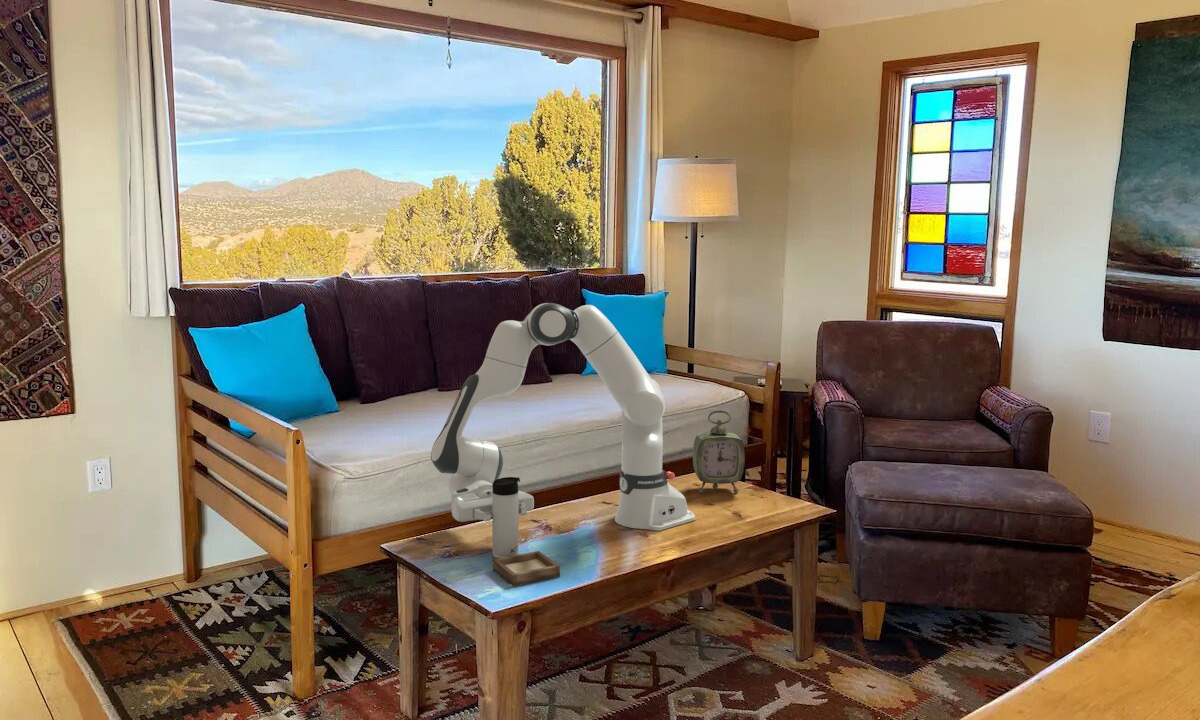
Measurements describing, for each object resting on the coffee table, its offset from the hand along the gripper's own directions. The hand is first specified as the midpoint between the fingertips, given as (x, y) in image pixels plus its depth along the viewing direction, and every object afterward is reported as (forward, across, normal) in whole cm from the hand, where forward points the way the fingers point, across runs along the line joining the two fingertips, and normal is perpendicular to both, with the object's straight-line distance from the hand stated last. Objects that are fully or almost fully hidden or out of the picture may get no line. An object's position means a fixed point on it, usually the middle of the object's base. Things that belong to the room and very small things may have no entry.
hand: (506, 514), depth 223 cm
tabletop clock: (-22, -80, -11) cm, 84 cm away
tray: (+11, 0, -11) cm, 15 cm away
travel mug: (0, 0, -11) cm, 11 cm away
